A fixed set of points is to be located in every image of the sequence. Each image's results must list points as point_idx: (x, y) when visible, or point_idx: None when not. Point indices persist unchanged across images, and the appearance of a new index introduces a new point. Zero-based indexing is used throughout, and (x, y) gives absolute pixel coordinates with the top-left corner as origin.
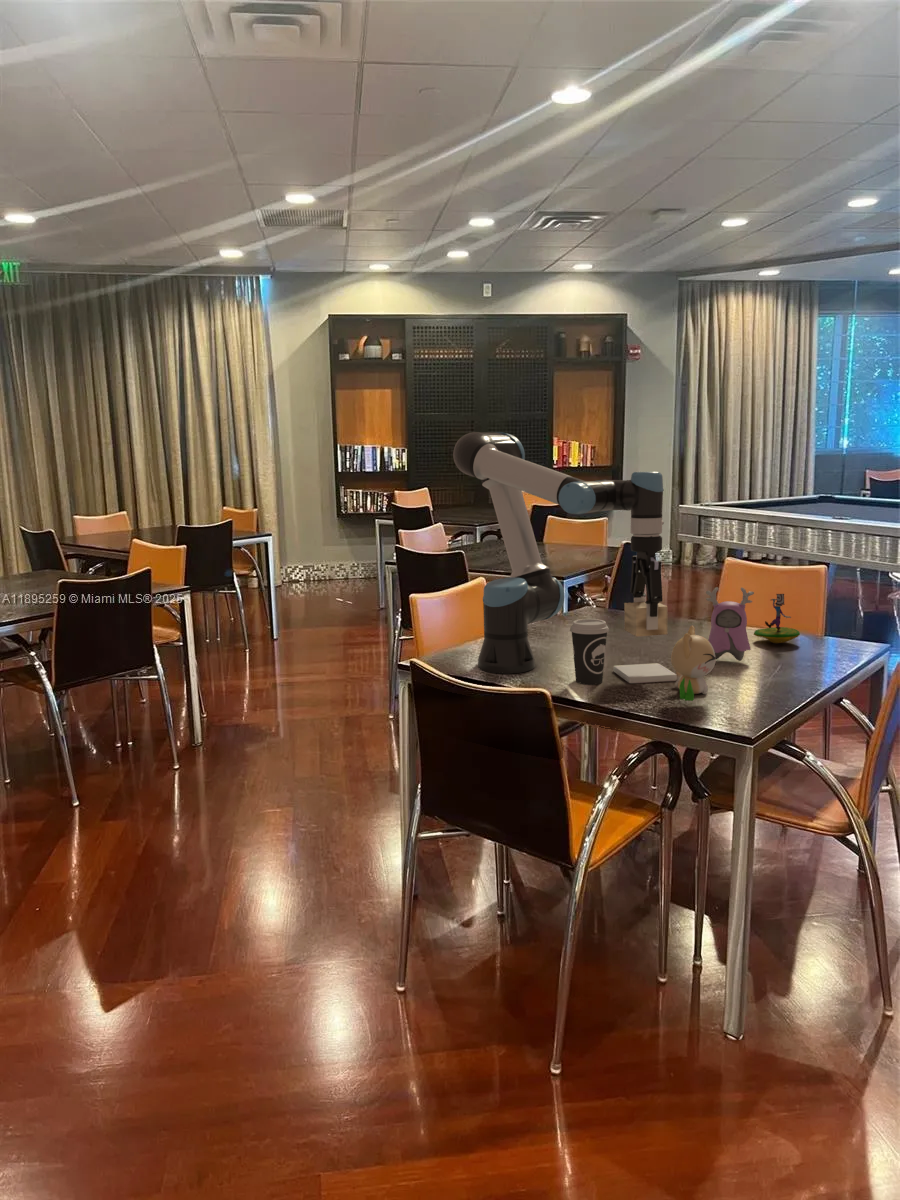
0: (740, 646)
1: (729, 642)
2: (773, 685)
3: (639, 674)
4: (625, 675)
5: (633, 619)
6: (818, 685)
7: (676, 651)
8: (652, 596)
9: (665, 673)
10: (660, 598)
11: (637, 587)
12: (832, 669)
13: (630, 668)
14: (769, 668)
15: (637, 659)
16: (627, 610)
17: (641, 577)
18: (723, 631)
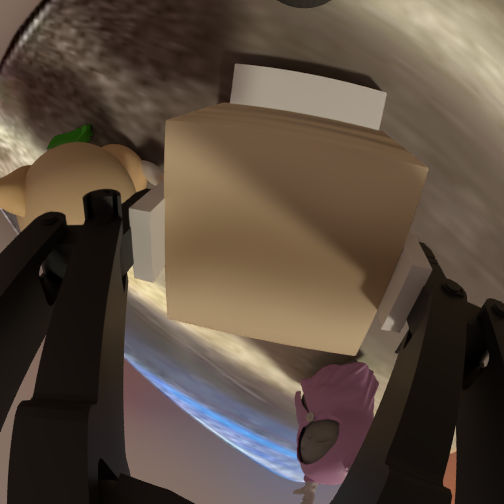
0: (295, 399)
1: (304, 395)
2: (148, 324)
3: (256, 105)
4: (273, 68)
5: (244, 114)
6: (141, 364)
7: (45, 158)
8: (24, 230)
9: None
10: (44, 271)
11: (416, 344)
12: (216, 419)
13: (333, 118)
14: (251, 382)
15: (455, 231)
16: (356, 140)
17: (371, 454)
18: (316, 411)
